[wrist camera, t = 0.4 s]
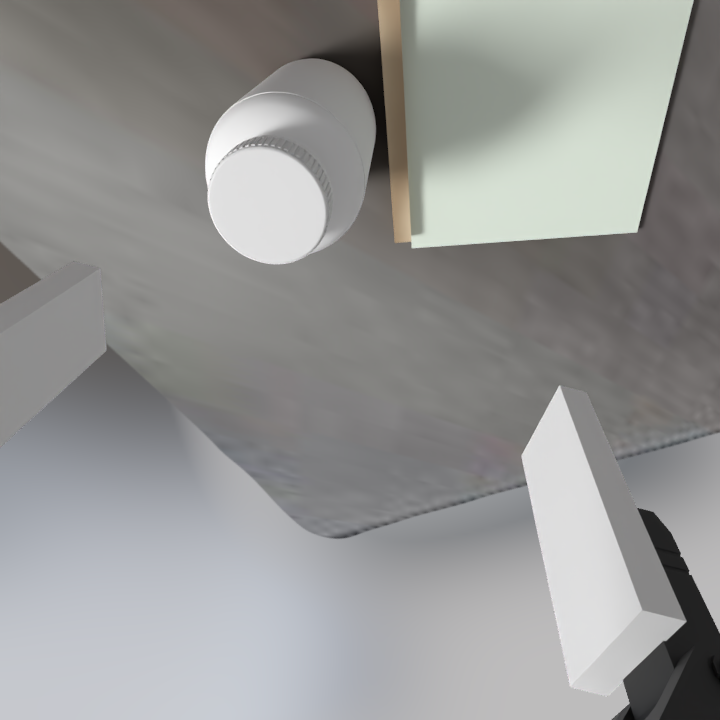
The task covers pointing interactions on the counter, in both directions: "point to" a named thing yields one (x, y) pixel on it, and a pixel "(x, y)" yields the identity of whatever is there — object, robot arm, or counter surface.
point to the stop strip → (395, 115)
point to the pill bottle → (291, 162)
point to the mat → (534, 114)
